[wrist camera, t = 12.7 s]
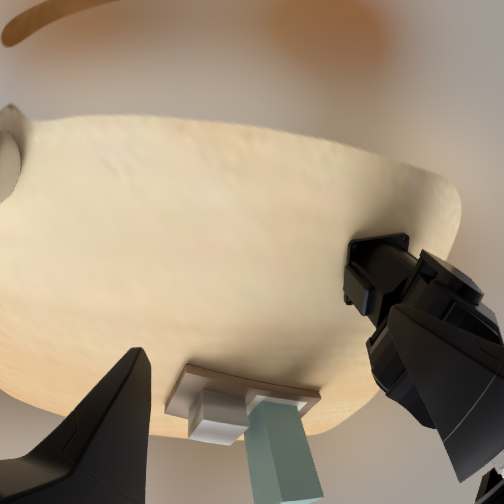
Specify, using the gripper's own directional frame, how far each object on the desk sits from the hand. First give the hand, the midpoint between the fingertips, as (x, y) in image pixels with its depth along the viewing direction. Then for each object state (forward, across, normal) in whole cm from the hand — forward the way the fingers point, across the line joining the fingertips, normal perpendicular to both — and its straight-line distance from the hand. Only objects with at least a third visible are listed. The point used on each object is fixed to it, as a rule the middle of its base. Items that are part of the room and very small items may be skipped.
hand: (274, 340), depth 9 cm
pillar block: (+12, -1, +24) cm, 27 cm away
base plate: (+13, +2, +22) cm, 26 cm away
